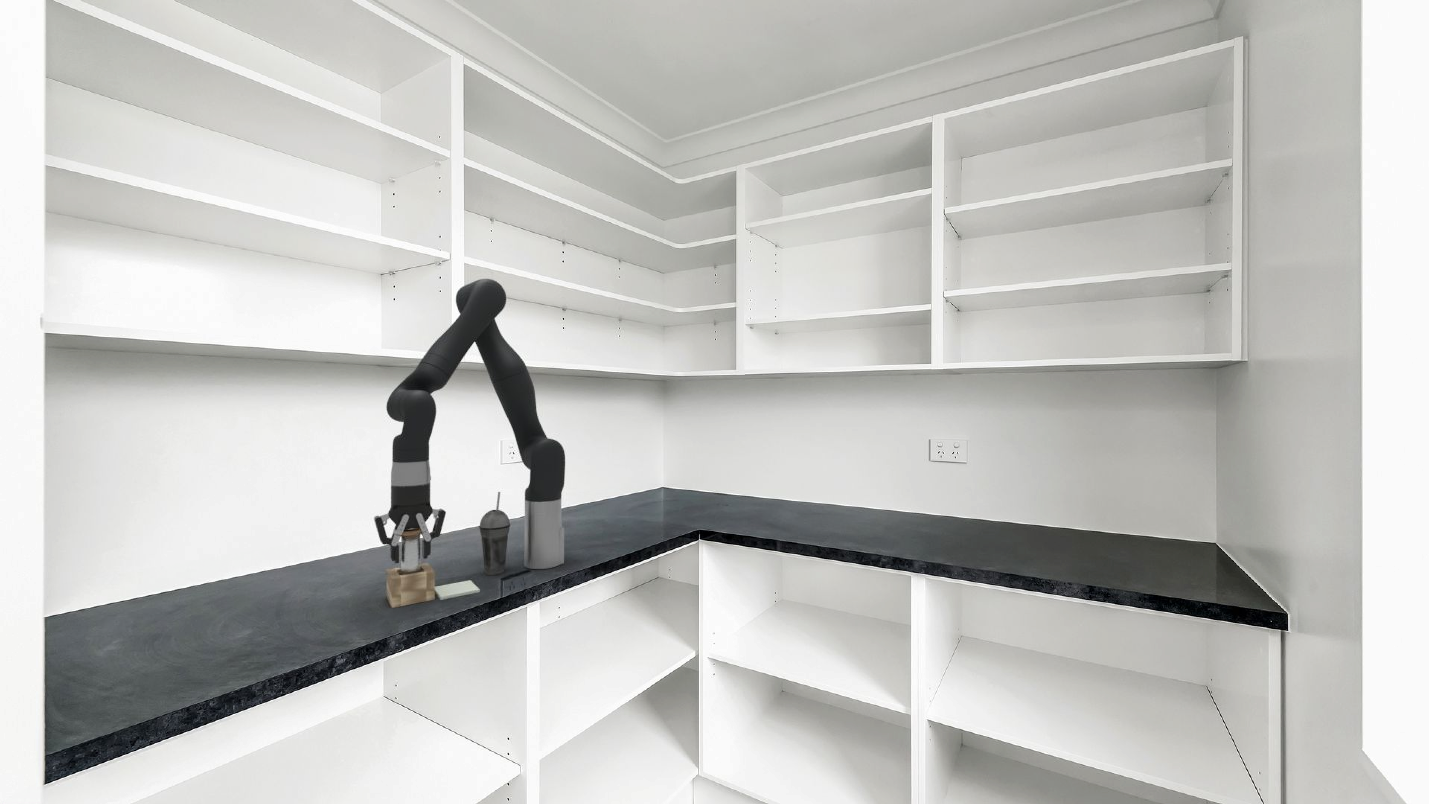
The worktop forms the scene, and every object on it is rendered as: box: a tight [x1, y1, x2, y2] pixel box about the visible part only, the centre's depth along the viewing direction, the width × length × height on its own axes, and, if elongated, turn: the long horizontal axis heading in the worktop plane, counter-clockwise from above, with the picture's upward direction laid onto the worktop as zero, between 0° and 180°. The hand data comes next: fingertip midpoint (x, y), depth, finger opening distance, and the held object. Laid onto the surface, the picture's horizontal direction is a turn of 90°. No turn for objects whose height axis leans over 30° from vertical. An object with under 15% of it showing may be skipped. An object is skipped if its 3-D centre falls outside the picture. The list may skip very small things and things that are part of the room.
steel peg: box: [400, 528, 423, 575], centre depth 120 cm, size 5×5×15 cm
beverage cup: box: [478, 491, 511, 576], centre depth 139 cm, size 7×7×20 cm
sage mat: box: [435, 580, 481, 601], centre depth 125 cm, size 8×8×1 cm
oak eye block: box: [386, 562, 436, 609], centre depth 120 cm, size 8×8×6 cm
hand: (410, 559), depth 120 cm, fingers open, 5 cm apart
